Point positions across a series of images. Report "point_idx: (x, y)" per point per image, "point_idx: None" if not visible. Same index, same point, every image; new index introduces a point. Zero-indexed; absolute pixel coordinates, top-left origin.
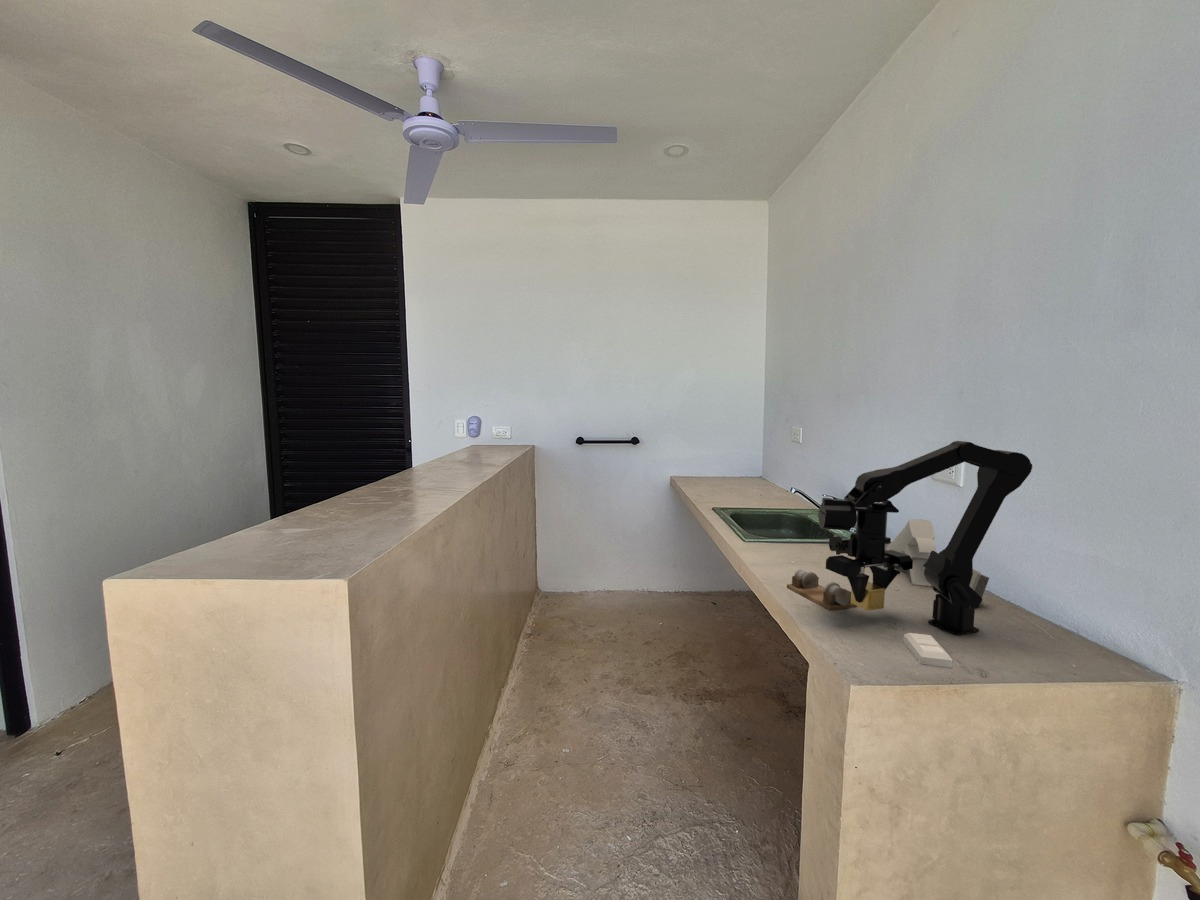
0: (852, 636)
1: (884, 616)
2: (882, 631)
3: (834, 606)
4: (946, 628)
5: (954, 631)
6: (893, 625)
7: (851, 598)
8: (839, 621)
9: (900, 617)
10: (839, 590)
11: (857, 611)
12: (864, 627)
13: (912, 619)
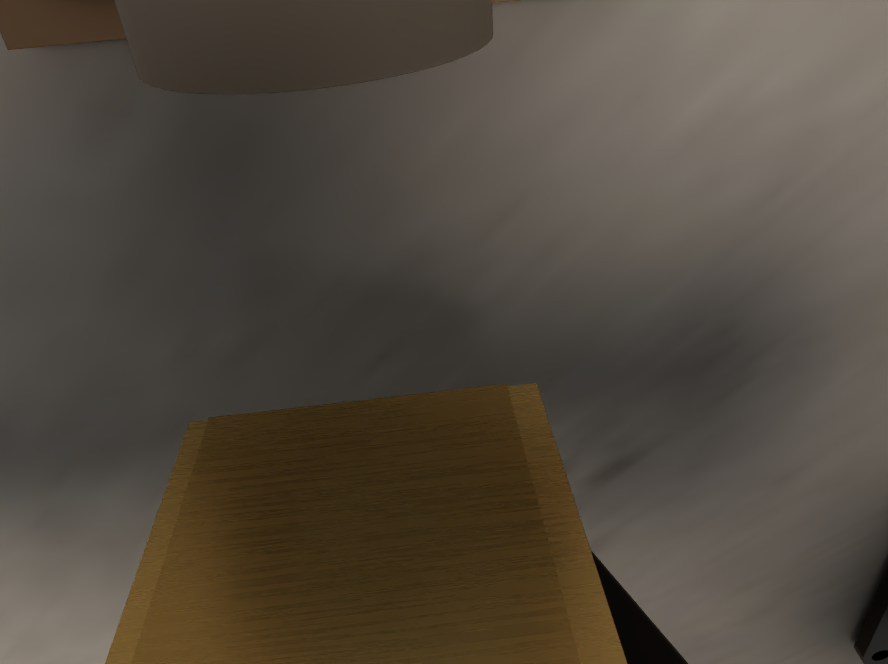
0: (20, 606)
1: (680, 329)
2: None
3: (109, 38)
4: (883, 618)
5: (875, 651)
6: None
7: (169, 497)
8: (29, 365)
9: (820, 372)
10: (178, 3)
11: (474, 147)
12: None
13: (878, 421)
